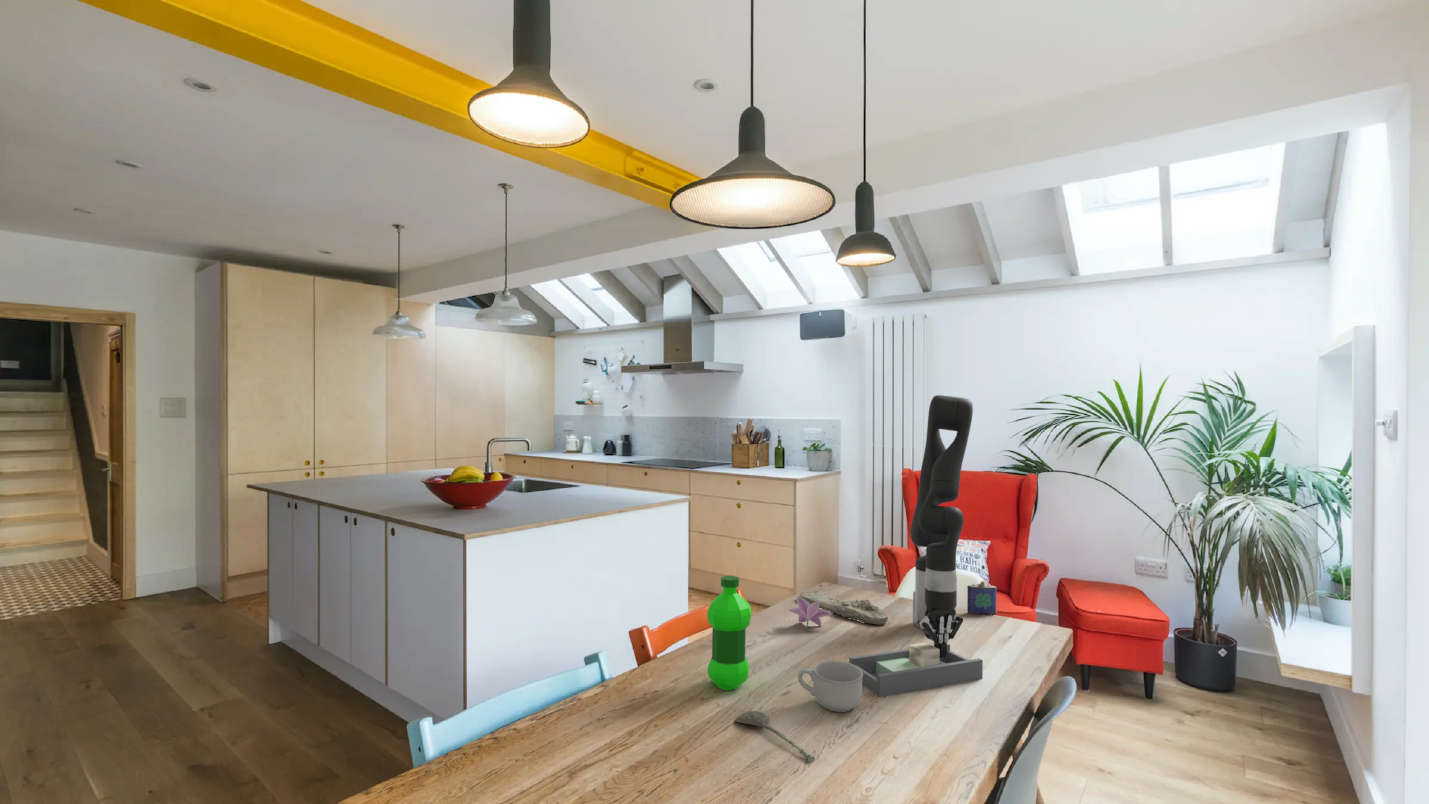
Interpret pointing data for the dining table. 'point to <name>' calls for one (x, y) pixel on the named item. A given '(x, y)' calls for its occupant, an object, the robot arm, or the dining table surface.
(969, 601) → the blue clover-printed container
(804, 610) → the lily
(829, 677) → the teacup
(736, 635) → the plastic bottle
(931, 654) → the block
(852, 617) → the long grey stone
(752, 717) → the soupspoon
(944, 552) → the robot arm
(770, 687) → the dining table surface
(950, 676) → the trap lane
